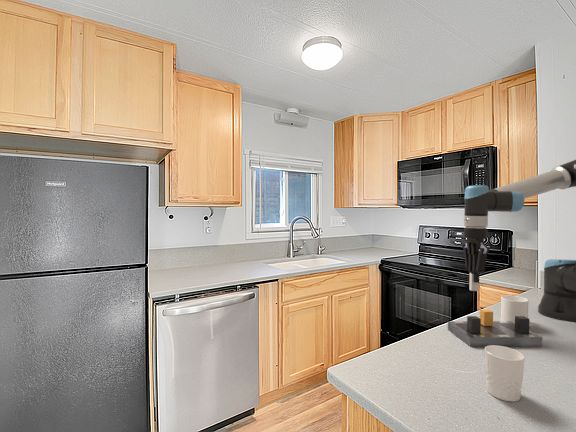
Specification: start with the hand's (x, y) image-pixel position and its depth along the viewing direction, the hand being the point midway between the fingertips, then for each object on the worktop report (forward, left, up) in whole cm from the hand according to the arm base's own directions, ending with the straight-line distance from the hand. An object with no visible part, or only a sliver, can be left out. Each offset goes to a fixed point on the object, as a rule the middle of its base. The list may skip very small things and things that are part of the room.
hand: (473, 290), depth 117 cm
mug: (-17, -2, -14) cm, 22 cm away
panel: (0, +10, -13) cm, 17 cm away
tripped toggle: (0, +7, -10) cm, 12 cm away
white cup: (+18, +42, -14) cm, 48 cm away
